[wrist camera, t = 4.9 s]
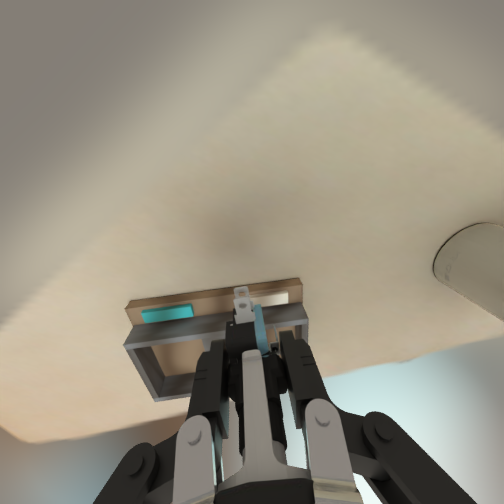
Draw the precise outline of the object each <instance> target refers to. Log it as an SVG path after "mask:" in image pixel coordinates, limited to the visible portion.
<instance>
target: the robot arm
mask: <svg viewBox="0 0 504 504" xmlns="http://www.w3.org/2000/svg"><path fill="white" fill-rule="evenodd" d="M434 273H435V276H436V278H437V279H438V280H439V281H441V282H442V283H444V284H445V285H447V286H449V287H450V288H452V289H453V290H455V291H456V292H458V293H460V294H461V295H463V296H464V297H466V298H467V299H469V300H470V301H472V302H473V303H475V304H477V305H478V306H480V307H481V308H483V309H484V310H486V311H488V312H489V313H491V314H492V315H494V316H496V317H497V318H499V319H500V320H502V321H503V322H504V227H502V226H499V225H495V224H491V223H482V224H477V225H473V226H470V227H468V228H466V229H464V230H462V231H461V232H459V233H458V234H456V235H455V236H453V237H452V238H451V239H450V240H449V241H448V242H447V243H446V244H445V245H444V246H443V247H442V249H441V250H440V252H439V253H438V255H437V258H436V260H435V264H434ZM279 343H280V354H281V359H282V361H283V363H284V368H285V372H286V377H287V381H288V392H289V397H290V401H291V406H292V410H293V415H294V420H295V424H296V429H301V428H302V432H303V436H304V440H305V454H306V466H307V470H309V471H310V476H311V479H312V480H313V481H314V483H313V493H314V503H315V504H363V500H362V497H361V495H360V492H359V491H358V489H357V487H356V484H355V481H354V476H353V473H356V474H359V475H362V476H363V477H364V479H365V480H366V481H367V483H368V484H369V486H370V487H371V488H372V490H373V491H374V493H375V494H376V495H377V497H378V498H379V499H380V501H381V502H382V503H383V504H477V503H476V502H475V501H474V500H473V499H472V498H471V497H470V496H469V495H468V494H467V493H466V492H465V491H464V490H463V489H462V488H461V487H460V486H459V485H458V484H457V483H456V482H455V481H454V480H453V479H452V478H451V477H450V476H449V475H448V474H447V473H446V472H445V471H444V470H443V469H442V468H441V467H440V466H439V465H438V464H437V463H436V462H435V461H434V460H433V459H432V458H431V457H430V456H429V455H428V454H427V453H426V452H425V451H424V450H423V449H422V448H421V447H420V446H419V445H418V444H417V443H416V442H415V441H414V440H413V439H412V438H411V437H410V436H409V435H408V434H407V433H406V432H405V431H404V430H403V429H402V428H401V427H400V426H399V425H398V424H397V423H396V422H395V421H394V420H393V419H392V418H390V417H389V416H387V415H385V414H384V413H381V412H376V411H375V412H369V413H368V414H366V416H365V417H364V416H360V415H356V414H352V413H348V412H345V411H343V410H341V409H339V408H338V407H337V406H335V404H333V402H332V401H331V400H330V398H329V396H328V394H327V392H326V389H325V386H324V383H323V381H322V378H321V375H320V373H319V370H318V367H317V365H316V362H315V359H314V357H313V354H312V351H311V349H310V346H309V345H308V344H307V343H306V342H305V340H304V339H296V340H295V338H294V335H293V332H292V330H286V331H279ZM229 363H230V359H229V355H228V352H227V349H226V345H225V339H218V340H212V341H211V346H210V351H206V352H202V354H201V356H200V357H199V359H198V361H197V365H196V373H195V376H194V382H193V387H192V393H191V398H190V404H189V409H188V414H187V418H186V420H185V422H184V424H183V425H182V426H181V428H180V430H179V431H178V432H177V433H176V434H174V435H173V436H172V437H170V438H168V439H166V440H164V441H162V442H161V443H159V444H157V445H155V446H152V445H151V444H149V443H140V444H138V445H136V446H134V447H133V448H132V449H130V450H129V451H128V452H127V454H126V455H125V456H124V457H123V459H122V460H121V462H120V463H119V465H118V467H117V468H116V469H115V471H114V472H113V474H112V475H111V477H110V479H109V480H108V481H107V483H106V485H105V486H104V487H103V489H102V490H101V492H100V493H99V495H98V496H97V498H96V499H95V501H94V502H93V504H170V503H171V502H173V504H215V494H217V492H218V485H219V484H220V483H222V482H223V481H224V473H223V464H222V439H228V428H229V395H228V391H227V377H228V366H229Z"/></svg>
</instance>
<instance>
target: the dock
mask: <svg viewBox="0 0 504 504" xmlns="http://www.w3.org/2000/svg"><path fill="white" fill-rule="evenodd" d="M245 286H247V287H248V291H249V296H250V300H251V301H253V302H254V305H256V304H261V309H262V314H263V320H264V326H265V330H266V336H267V342H268V346H269V343H271V342H276V337H275V331H274V325H275V327H276V332H277V336H278V341H279V331H286V330H292V332H293V335H294V338H295V340H296V339H304V340H305V342H306V343H307V344H308V316H307V314H306V312H305V310H304V308H303V305H302V293H303V285H302V283H301V281H300V279H299V278H296V279H289V280H282V281H274V282H267V283H260V284H252V285H245ZM238 287H242V286H238ZM234 288H237V287H230V288H223V289H216V290H208V291H201V292H194V293H186V294H179V295H172V296H164V297H157V298H150V299H142V300H135V301H130V302H129V304H128V305H127V307H126V308H125V311H126V313H127V315H128V317H129V319H130V321H131V323H132V325H133V328H132V330H131V332H130V334H129V336H128V337H127V339H126V341H125V343H124V344H123V346H124V347H125V349H126V351H127V353H128V355H129V356H130V358H131V360H132V362H133V364H134V365H135V367H136V369H137V371H138V373H139V374H140V376H141V378H142V380H143V382H144V383H145V385H146V387H147V389H148V391H149V392H150V394H151V396H152V398H153V400H154V401H155V402H159V401H165V400H172V399H178V398H185V397H191V393H192V387H193V382H194V376H195V373H196V365H197V361H198V359H199V357H200V356H201V354H202V352H206V351H210V346H211V341H212V340H218V339H225V333H226V322H227V321H233V308H235V305H234V301H233V300H234V299H235V294H234ZM238 295H239V296H240V297H244V296H245V295H246V294H245V293H244V292H240V293H239V294H238ZM279 347H280V343H279ZM269 351H270V347H269ZM278 356H280V358H281V354H280V355H278Z"/></svg>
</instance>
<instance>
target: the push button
mask: <svg viewBox="0 0 504 504" xmlns="http://www.w3.org/2000/svg"><path fill="white" fill-rule="evenodd" d="M240 292H244V293H245V294H246V295H245V296H244V297H240V296H239V295H238V294H239V293H240ZM234 294H235V299H234V300H233V301H234V305H235V308H233V321H227V322H226V333H225V345H226V349H227V352H228V355H229V359H230V363H229V366H228V377H227V391H228V395H229V397H230V398H231V399H232V400H233V401H234V402H235V407H236V411H237V414H238V417H239V452H240V454H241V456H242V457H243V467H242V468H241V470H240V471H238V472H237V473H236V474H234V475H232V476H231V477H229V478H228V479H226V480H225V481H223V482H222V483H220V484H219V485H218V492H217V494H215V504H315V503H314V493H313V483H314V481H313V480H312V479H311V476H310V471H309V470H307V469H303V468H297V467H293V466H288V465H287V460H286V454H285V451H286V449H287V440H286V435H285V429H284V423H283V412H282V406H281V401H280V395H279V394H284V393H286V391H287V389H288V381H287V377H286V372H285V368H284V363H283V361H282V359H281V358H280V356H278V355H280V347H279V341H278V336H277V332H276V327H275V325H274V331H275V337H276V342H271V343H269V346H268V342H267V336H266V330H265V326H264V320H263V314H262V309H261V304H256V305H254V302H253V301H251V300H250V296H249V291H248V287H247V286H242V287H237V288H234ZM269 347H270V351H269Z"/></svg>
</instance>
